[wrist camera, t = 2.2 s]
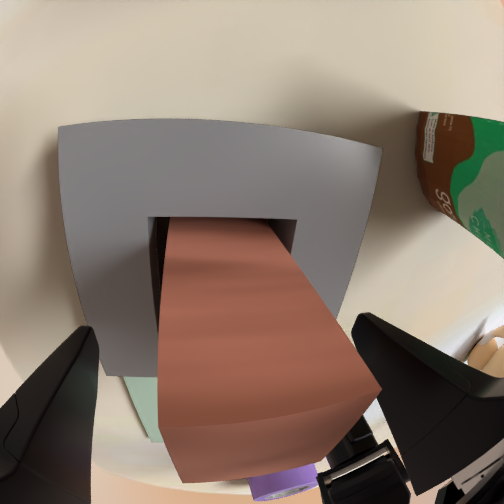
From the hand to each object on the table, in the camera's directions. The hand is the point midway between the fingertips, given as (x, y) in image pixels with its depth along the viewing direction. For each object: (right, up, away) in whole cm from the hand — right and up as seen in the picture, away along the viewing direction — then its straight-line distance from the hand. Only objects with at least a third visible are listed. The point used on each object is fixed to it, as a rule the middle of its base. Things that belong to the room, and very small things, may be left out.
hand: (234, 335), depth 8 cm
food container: (+14, +7, +7) cm, 17 cm away
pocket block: (-1, +3, +5) cm, 6 cm away
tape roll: (+5, -35, +27) cm, 45 cm away
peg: (-1, +3, +5) cm, 6 cm away
